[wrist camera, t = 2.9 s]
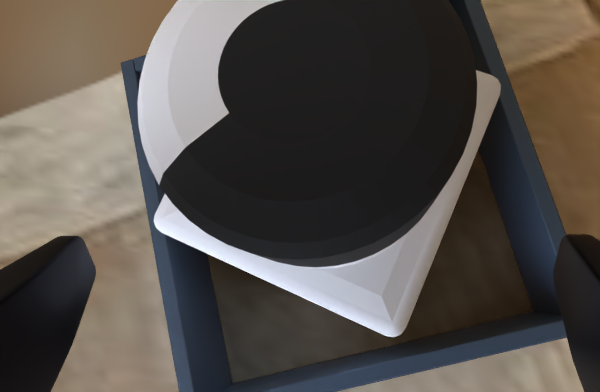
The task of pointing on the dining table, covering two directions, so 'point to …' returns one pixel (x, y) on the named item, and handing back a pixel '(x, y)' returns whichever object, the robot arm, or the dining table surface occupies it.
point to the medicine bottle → (315, 141)
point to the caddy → (404, 356)
